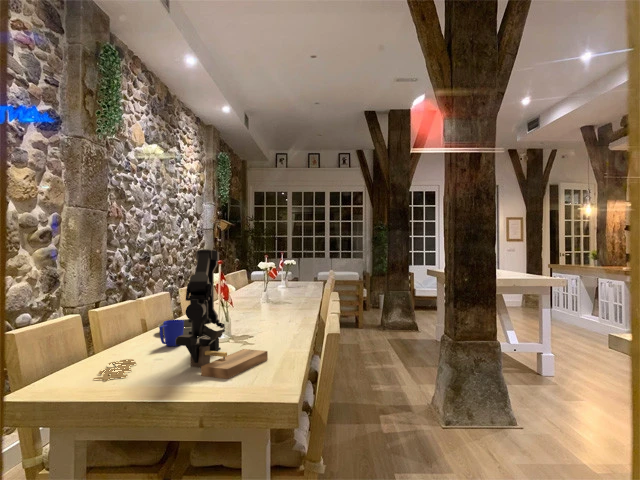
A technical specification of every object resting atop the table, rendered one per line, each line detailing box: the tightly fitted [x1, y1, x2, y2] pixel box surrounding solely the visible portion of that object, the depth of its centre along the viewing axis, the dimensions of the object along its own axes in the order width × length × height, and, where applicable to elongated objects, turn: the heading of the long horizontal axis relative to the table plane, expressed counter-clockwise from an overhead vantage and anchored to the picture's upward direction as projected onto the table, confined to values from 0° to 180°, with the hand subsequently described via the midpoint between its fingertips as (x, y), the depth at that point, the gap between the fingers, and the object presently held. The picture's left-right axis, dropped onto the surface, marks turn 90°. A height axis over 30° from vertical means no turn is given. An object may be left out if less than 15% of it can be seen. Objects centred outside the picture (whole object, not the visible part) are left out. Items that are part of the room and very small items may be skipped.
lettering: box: [92, 358, 137, 381], centre depth 155 cm, size 25×10×1 cm, turn 12°
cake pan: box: [157, 318, 191, 335], centre depth 221 cm, size 25×25×4 cm
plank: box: [200, 348, 269, 380], centre depth 156 cm, size 10×25×3 cm, turn 157°
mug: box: [158, 319, 184, 347], centre depth 190 cm, size 8×12×10 cm
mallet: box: [190, 345, 228, 368], centre depth 157 cm, size 13×4×6 cm, turn 67°
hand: (200, 361), depth 159 cm, fingers closed on mallet, 4 cm apart
